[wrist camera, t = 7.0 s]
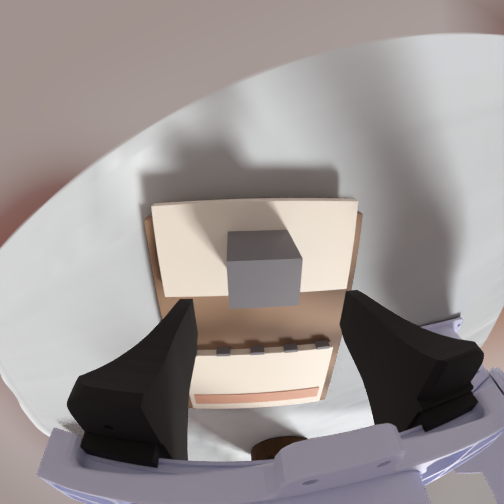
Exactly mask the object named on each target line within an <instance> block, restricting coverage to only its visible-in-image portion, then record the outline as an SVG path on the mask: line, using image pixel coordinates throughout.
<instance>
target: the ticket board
mask: <svg viewBox="0 0 504 504" xmlns="http://www.w3.org/2000/svg"><path fill="white" fill-rule="evenodd" d="M362 215H363V214H362V213H360V212H359V211H357V219H356V228H355V236H354V244H353V251H352V258H351V265H350V271H349V277H348V283H347V289H338V290H325V291H311V292H300V298H299V305H296V306H281V307H263V308H241V309H229V297H228V296H199V297H165V294H164V289H163V283H162V277H161V272H160V266H159V260H158V253H157V247H156V240H155V233H154V225H153V217H152V216H148V217H147V218H146V219H145V220H144V222H145V229H146V236H147V242H148V249H149V255H150V261H151V266H152V272H153V277H154V282H155V288H156V292H157V297H158V302H159V307H160V311H161V316H162V319H163V318H164V317H165V316H166V315H167V314H168V312H169V311H170V310H171V309H172V308H173V306H174V305H175V304H176V303H177V301H178V300H179V299H193V304H194V311H195V317H196V324H197V330H198V341H197V350H217V347H230V349H249V348H250V346H261V345H263V346H264V348H267V347H281V346H283V344H289V343H296V344H297V345H304V344H314V343H315V341H320V340H328V342H331V343H332V345H333V350H332V355H331V359H330V363H329V367H328V371H327V375H326V379H325V382H324V386H323V390H322V393H321V397H320V400H323V399H325V397H326V393H327V390H328V386H329V383H330V379H331V376H332V372H333V368H334V365H335V361H336V357H337V353H338V349H339V345H340V341H341V337H342V332H341V328H340V325H339V324H340V319H341V314H342V309H343V304H344V298H345V293H346V291H351V289H352V283H353V278H354V272H355V266H356V259H357V253H358V246H359V239H360V231H361V223H362ZM188 408H193V405H192V402H191V398H190V395H189V401H188Z"/></svg>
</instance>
